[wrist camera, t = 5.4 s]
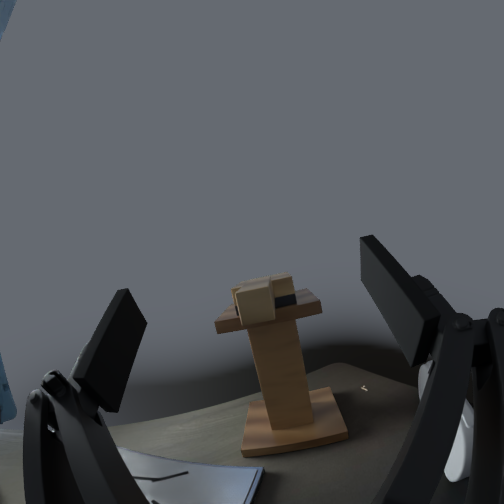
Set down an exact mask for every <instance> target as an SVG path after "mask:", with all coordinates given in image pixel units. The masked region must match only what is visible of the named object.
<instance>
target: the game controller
mask: <svg viewBox="0 0 504 504" xmlns="http://www.w3.org/2000/svg"><path fill="white" fill-rule="evenodd" d="M432 361H433V360H431V361H428V362H427V364H423V365H422V366H421V367H420V370H419V379H418V382H419V383H418V384H419V385H418V386H419V398H420V400H421V397H422V394H423V391H424V388H425V385H426V382H427V378H428V375H429V374H428V371H429V369H430V366H431V364H432ZM473 428H474V410H473V408H472V407H471V405H470V404H469V402H468V401H467V399H465V404H464V408H463V412H462V416H461V420H460V424H459V427H458V431H457V434H456V438H455V441H454V444H453V447H452V450H451V453H450V456H449V458H448V461H447V464H446V466H445V469H444V472H445V475H446V477H447V478H448V479H449V480H450V481H451V482H456V481H459V480H461V479H464V478H466V477H469V476H470V469H471V460H472V448H473Z"/></svg>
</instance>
